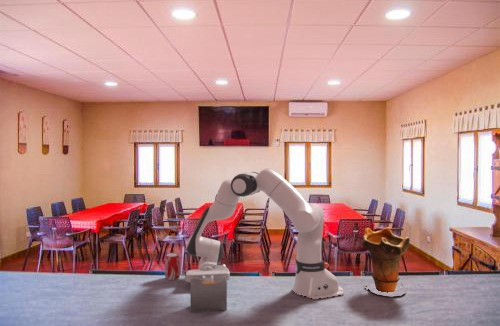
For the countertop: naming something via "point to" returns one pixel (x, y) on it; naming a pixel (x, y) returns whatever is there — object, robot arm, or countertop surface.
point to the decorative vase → (385, 256)
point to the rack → (208, 295)
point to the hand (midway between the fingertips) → (208, 281)
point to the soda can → (172, 266)
